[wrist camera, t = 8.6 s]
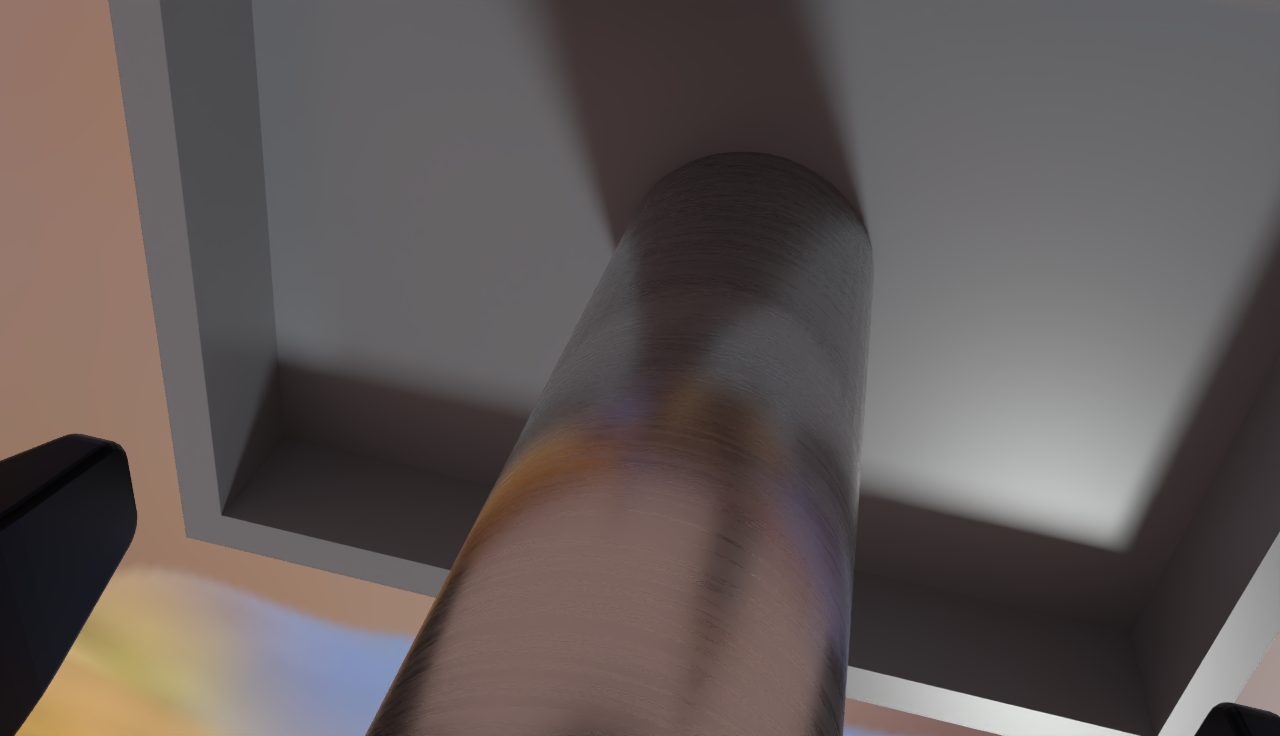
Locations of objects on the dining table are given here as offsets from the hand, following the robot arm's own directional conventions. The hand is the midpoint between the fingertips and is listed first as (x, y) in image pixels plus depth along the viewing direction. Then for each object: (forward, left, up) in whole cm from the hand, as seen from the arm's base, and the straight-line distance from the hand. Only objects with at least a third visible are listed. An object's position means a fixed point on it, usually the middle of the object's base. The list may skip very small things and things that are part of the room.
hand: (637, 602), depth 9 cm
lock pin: (0, 0, -6) cm, 6 cm away
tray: (0, 0, -7) cm, 7 cm away
